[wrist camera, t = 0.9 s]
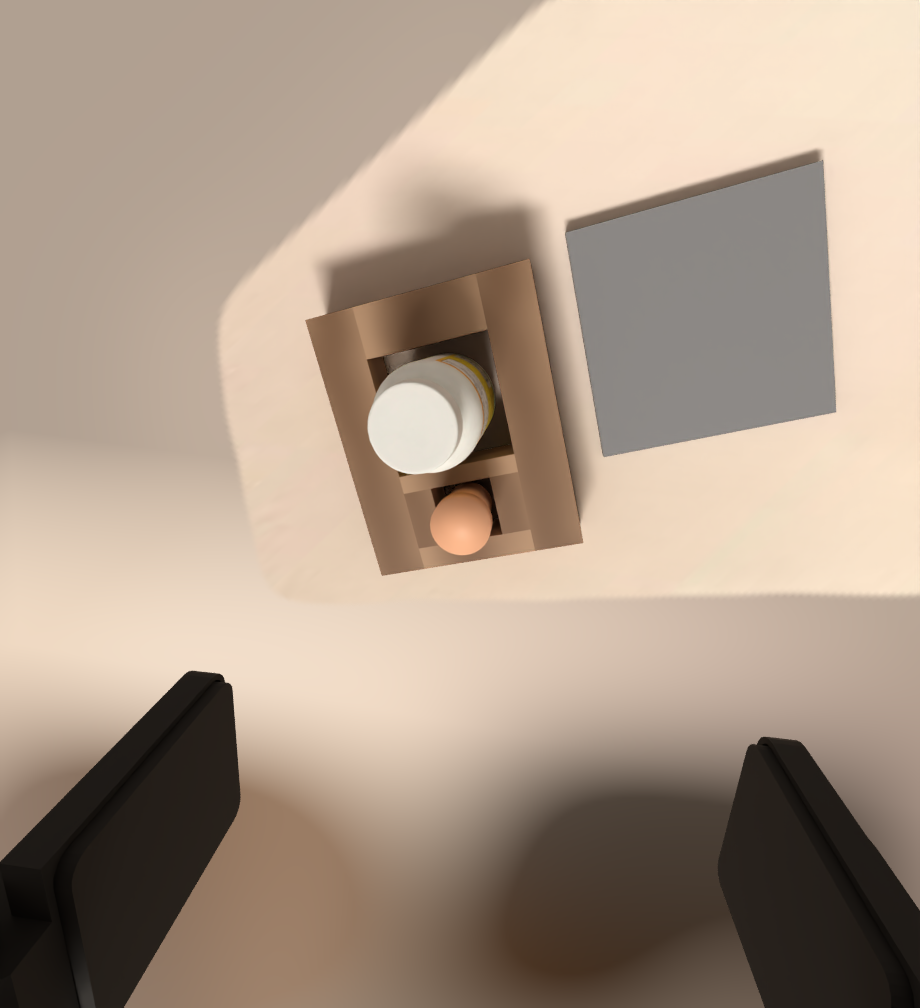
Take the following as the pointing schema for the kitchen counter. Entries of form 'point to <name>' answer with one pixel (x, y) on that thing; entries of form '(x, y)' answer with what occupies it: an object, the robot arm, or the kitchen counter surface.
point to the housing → (511, 468)
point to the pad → (708, 312)
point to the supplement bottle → (431, 413)
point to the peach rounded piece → (463, 519)
